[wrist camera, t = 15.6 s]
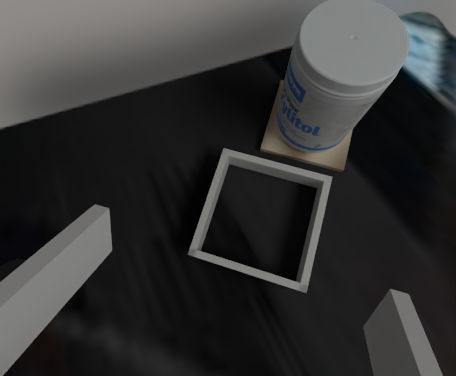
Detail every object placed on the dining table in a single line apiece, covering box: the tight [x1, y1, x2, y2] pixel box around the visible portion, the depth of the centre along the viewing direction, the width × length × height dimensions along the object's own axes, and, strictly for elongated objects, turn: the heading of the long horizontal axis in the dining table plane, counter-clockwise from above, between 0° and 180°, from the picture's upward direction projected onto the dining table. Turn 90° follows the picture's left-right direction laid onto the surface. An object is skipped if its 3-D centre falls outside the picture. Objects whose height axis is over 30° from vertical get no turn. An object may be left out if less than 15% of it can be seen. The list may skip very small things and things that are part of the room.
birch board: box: [260, 80, 353, 172], centre depth 38 cm, size 11×11×1 cm
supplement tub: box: [276, 0, 409, 153], centre depth 30 cm, size 10×10×15 cm
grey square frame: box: [188, 148, 332, 293], centre depth 34 cm, size 14×14×3 cm
